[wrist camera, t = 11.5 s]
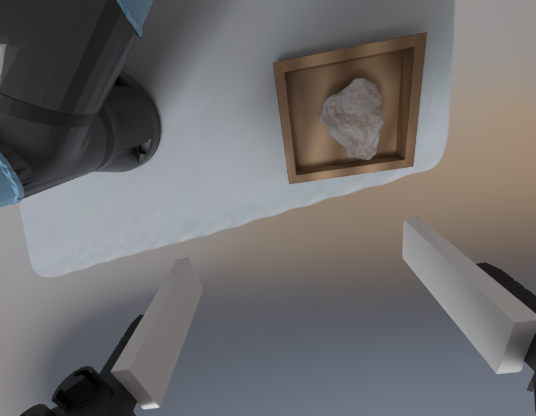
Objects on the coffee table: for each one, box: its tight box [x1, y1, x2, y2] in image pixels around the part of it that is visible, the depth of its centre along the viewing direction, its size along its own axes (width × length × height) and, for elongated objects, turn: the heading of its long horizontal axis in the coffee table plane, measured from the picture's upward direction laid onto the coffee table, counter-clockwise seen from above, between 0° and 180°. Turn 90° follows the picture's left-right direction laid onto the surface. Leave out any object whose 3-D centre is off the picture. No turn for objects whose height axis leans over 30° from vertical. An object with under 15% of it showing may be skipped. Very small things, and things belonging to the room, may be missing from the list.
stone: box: [318, 78, 384, 160], centre depth 31 cm, size 10×8×6 cm
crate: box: [273, 32, 427, 184], centre depth 32 cm, size 18×16×4 cm
